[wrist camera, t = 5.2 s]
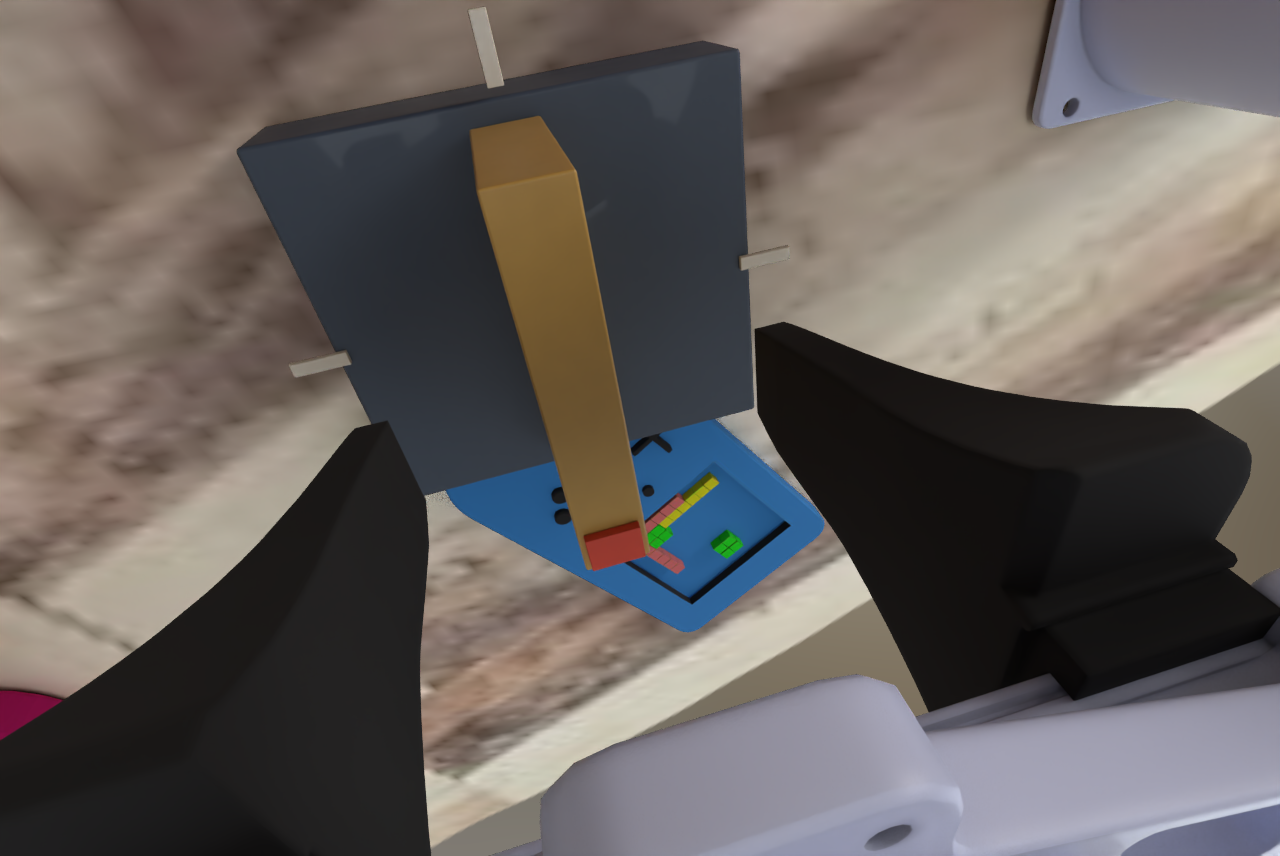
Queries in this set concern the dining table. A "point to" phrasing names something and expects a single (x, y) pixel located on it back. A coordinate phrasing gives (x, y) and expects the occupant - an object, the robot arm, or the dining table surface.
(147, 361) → the dining table surface
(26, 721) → the pepper mill
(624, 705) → the dining table surface
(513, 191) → the tan rectangular block
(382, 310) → the frame stand
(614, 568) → the handheld gaming device
